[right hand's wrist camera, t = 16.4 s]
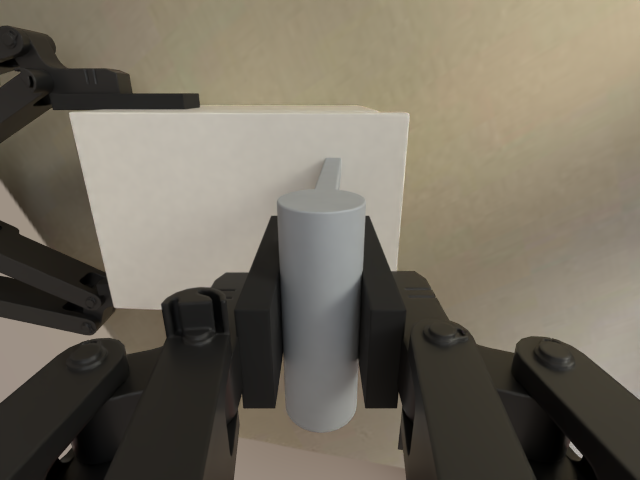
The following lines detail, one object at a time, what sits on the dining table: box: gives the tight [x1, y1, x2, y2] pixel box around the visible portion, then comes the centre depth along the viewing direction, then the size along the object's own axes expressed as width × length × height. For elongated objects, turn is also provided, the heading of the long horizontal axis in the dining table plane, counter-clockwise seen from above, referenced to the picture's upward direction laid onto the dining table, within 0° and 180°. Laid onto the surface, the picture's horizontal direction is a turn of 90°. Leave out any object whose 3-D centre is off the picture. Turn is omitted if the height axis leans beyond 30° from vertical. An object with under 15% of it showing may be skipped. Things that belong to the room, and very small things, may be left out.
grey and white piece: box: [69, 111, 410, 433], centre depth 14 cm, size 15×10×10 cm
